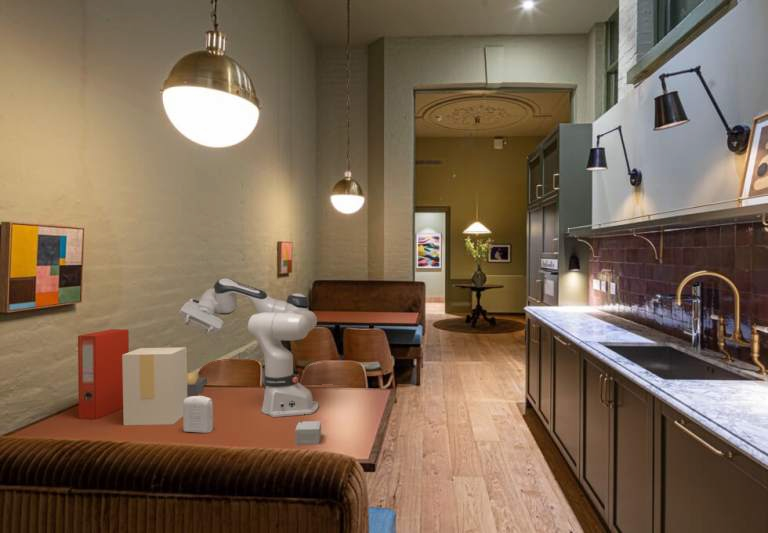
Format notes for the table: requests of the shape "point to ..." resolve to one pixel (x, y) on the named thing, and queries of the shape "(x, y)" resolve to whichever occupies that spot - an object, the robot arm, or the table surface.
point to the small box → (308, 432)
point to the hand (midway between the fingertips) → (196, 328)
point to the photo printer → (198, 414)
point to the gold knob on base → (195, 383)
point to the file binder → (101, 372)
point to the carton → (154, 385)
